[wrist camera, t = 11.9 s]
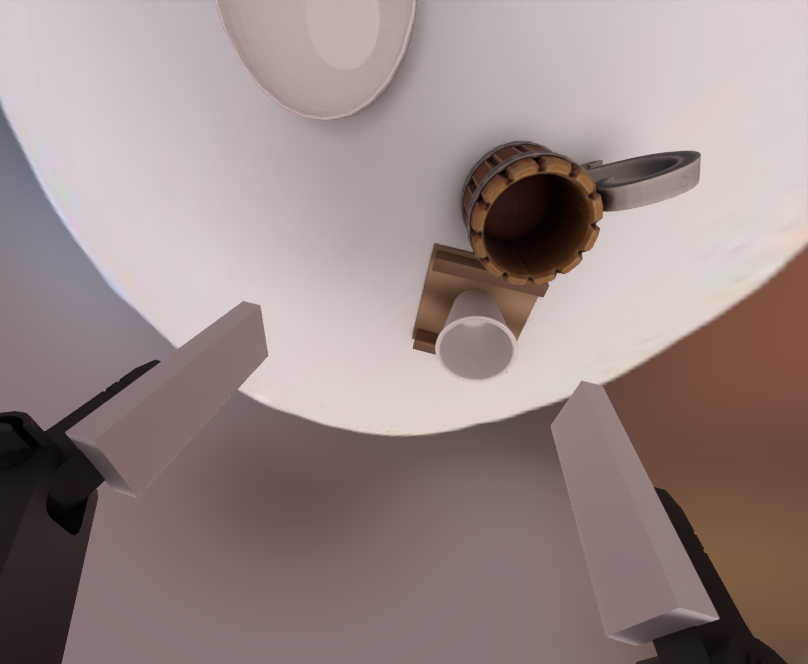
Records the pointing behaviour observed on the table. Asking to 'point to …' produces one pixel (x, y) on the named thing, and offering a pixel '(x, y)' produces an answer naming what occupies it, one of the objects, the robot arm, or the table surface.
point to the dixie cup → (476, 339)
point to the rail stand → (457, 275)
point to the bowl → (320, 50)
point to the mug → (557, 204)
